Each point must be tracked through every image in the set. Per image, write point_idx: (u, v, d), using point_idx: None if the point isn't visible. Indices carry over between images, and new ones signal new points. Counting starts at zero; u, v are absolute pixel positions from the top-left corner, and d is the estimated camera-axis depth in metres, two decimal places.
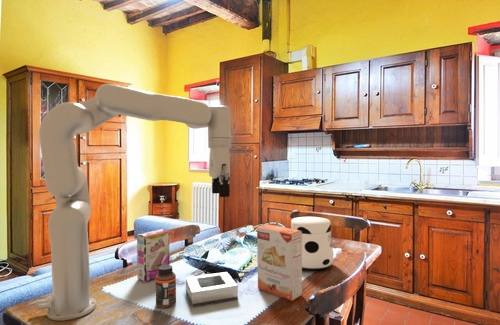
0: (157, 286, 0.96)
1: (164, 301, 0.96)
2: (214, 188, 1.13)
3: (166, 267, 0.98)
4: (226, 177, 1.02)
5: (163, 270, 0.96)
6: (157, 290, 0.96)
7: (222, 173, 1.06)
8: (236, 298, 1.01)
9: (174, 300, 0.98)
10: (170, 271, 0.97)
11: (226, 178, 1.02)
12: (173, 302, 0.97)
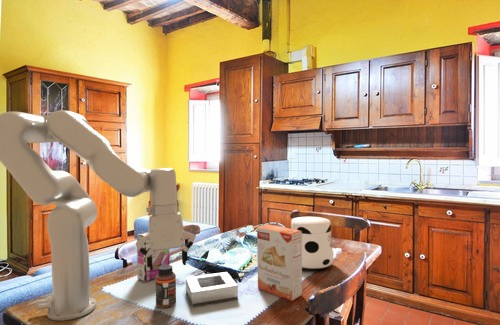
0: (157, 286, 0.96)
1: (164, 301, 0.96)
2: None
3: (166, 267, 0.98)
4: None
5: (163, 270, 0.96)
6: (157, 290, 0.96)
7: None
8: (236, 298, 1.01)
9: (174, 300, 0.98)
10: (170, 271, 0.97)
11: None
12: (173, 302, 0.97)
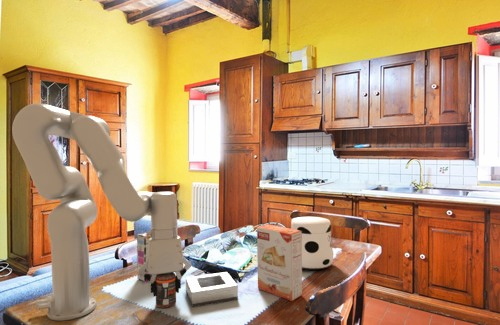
0: (157, 286, 0.96)
1: (164, 301, 0.96)
2: (155, 289, 0.97)
3: None
4: None
5: None
6: (157, 290, 0.96)
7: None
8: (236, 298, 1.01)
9: (174, 300, 0.98)
10: None
11: None
12: (173, 302, 0.97)
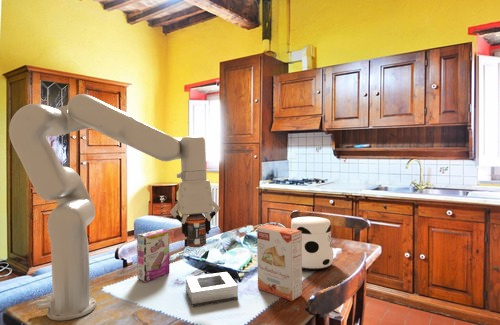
0: (188, 226, 0.99)
1: (196, 241, 0.99)
2: None
3: None
4: None
5: None
6: (188, 230, 0.99)
7: None
8: (236, 298, 1.01)
9: (205, 241, 1.01)
10: None
11: None
12: (204, 242, 1.00)
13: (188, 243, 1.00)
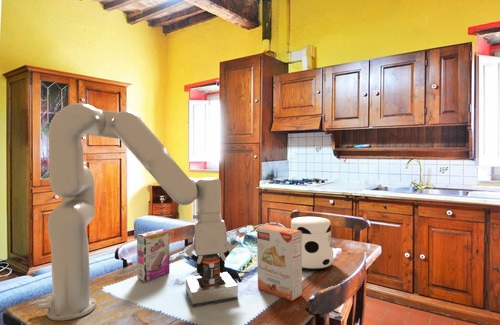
0: (203, 266, 1.02)
1: (211, 281, 1.01)
2: None
3: None
4: None
5: None
6: (204, 270, 1.02)
7: None
8: (236, 298, 1.01)
9: (219, 280, 1.03)
10: None
11: None
12: (218, 282, 1.03)
13: (203, 282, 1.02)
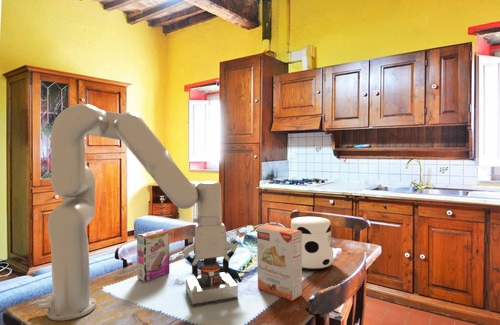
0: (203, 275, 1.02)
1: None
2: None
3: None
4: None
5: (209, 260, 1.02)
6: (203, 278, 1.02)
7: None
8: (236, 298, 1.01)
9: None
10: (215, 261, 1.03)
11: None
12: None
13: None
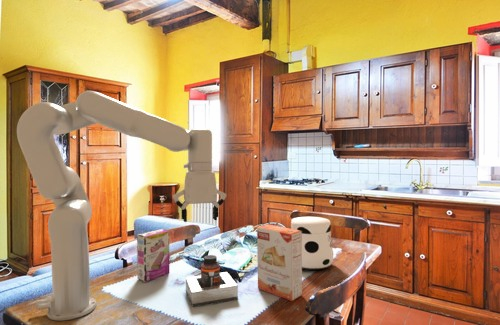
0: (203, 275, 1.02)
1: None
2: None
3: (210, 256, 1.04)
4: None
5: (209, 260, 1.02)
6: (203, 278, 1.02)
7: None
8: (236, 298, 1.01)
9: None
10: (215, 261, 1.03)
11: None
12: None
13: None
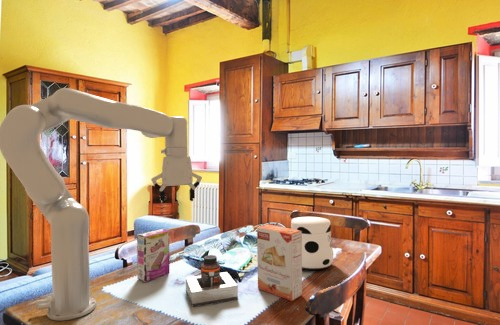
0: (203, 275, 1.02)
1: None
2: (164, 197, 1.12)
3: (211, 256, 1.04)
4: None
5: (209, 260, 1.02)
6: (203, 278, 1.02)
7: None
8: (236, 298, 1.01)
9: None
10: (215, 261, 1.03)
11: None
12: None
13: None
